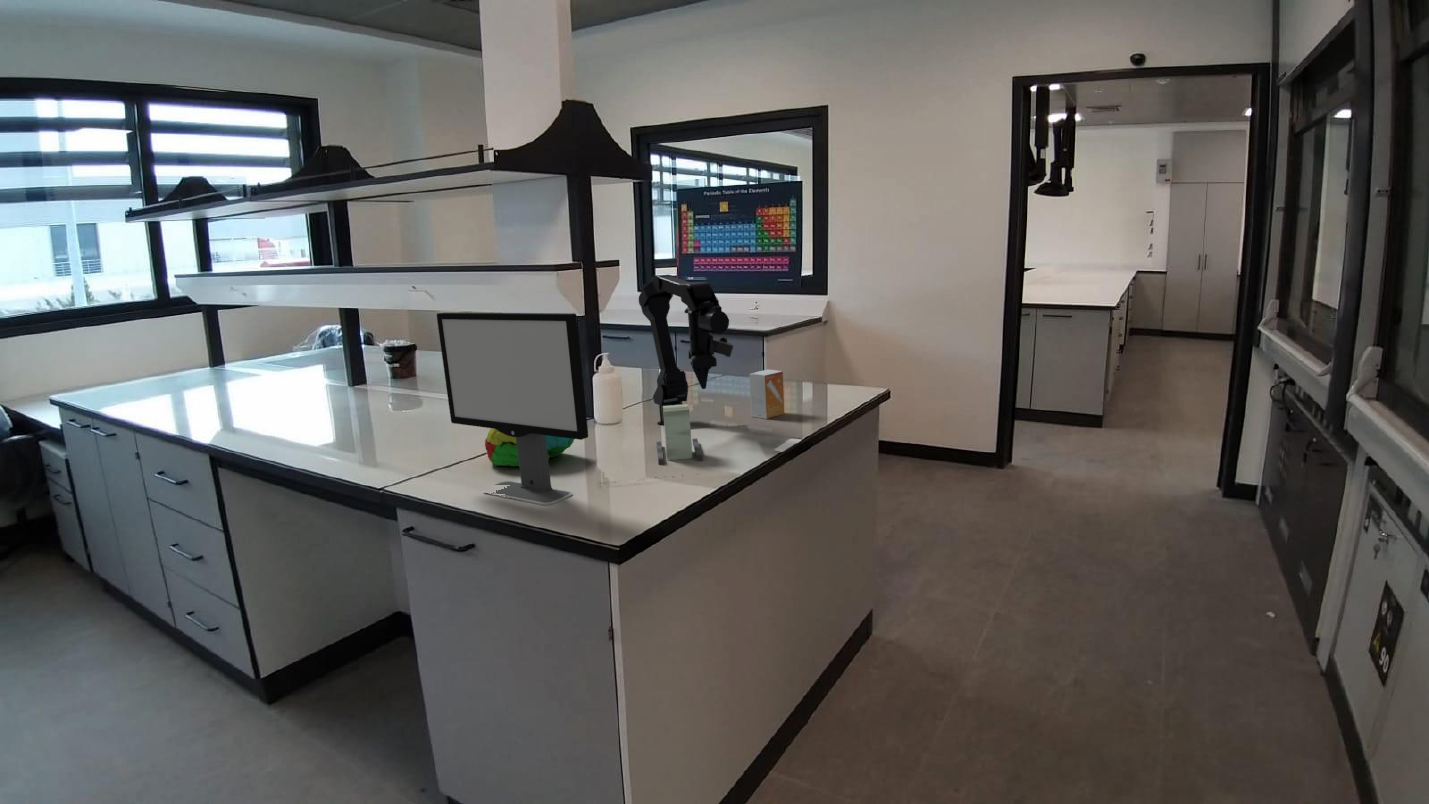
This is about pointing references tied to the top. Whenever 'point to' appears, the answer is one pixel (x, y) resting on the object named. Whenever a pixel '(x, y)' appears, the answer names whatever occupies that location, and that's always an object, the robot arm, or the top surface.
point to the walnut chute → (696, 448)
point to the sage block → (677, 432)
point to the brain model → (505, 447)
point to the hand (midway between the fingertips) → (703, 388)
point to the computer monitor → (517, 386)
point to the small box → (767, 394)
